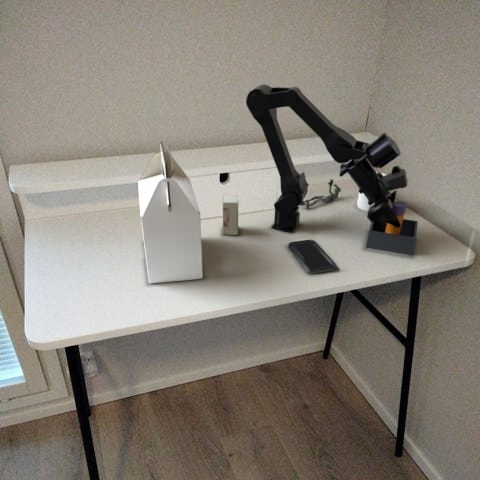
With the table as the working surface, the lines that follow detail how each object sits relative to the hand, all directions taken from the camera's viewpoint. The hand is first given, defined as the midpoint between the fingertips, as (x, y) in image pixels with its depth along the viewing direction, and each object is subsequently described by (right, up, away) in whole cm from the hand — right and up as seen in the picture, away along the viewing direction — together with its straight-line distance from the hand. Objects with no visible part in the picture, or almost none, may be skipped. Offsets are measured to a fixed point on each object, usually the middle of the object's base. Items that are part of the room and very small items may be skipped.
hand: (399, 223), depth 127 cm
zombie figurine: (-17, +12, +26) cm, 33 cm away
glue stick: (-1, -4, +4) cm, 6 cm away
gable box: (-61, -10, -4) cm, 62 cm away
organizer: (-1, -5, +4) cm, 7 cm away
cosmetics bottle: (-46, 0, +9) cm, 47 cm away
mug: (-1, +9, +22) cm, 24 cm away
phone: (-25, -10, -3) cm, 27 cm away
